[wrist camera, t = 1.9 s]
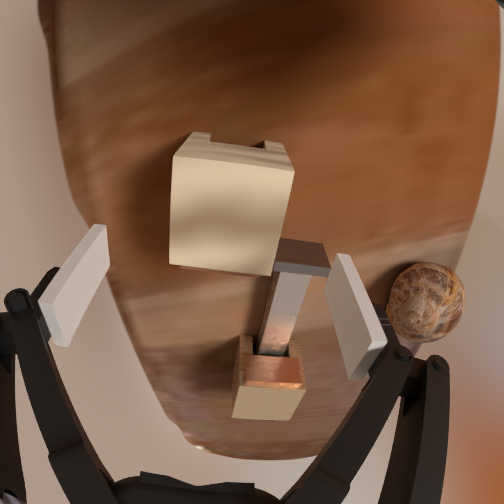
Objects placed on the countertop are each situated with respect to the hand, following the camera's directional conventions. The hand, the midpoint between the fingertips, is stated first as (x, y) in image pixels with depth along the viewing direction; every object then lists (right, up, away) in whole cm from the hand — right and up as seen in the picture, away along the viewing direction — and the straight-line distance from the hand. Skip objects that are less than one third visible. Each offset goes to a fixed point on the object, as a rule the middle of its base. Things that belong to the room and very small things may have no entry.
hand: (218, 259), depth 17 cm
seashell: (+21, -4, +17) cm, 28 cm away
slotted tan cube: (0, +7, +9) cm, 11 cm away
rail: (+4, -8, +19) cm, 21 cm away
